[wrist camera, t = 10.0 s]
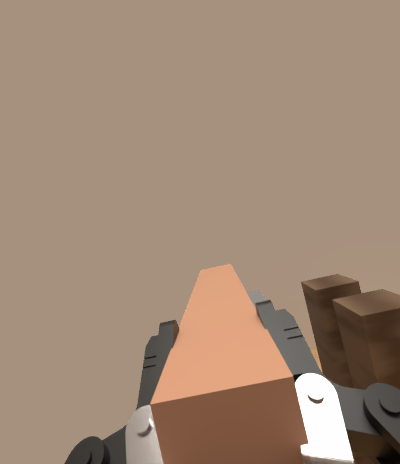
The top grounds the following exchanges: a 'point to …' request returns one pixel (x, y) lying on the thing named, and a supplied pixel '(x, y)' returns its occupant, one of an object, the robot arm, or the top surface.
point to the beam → (226, 384)
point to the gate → (355, 334)
